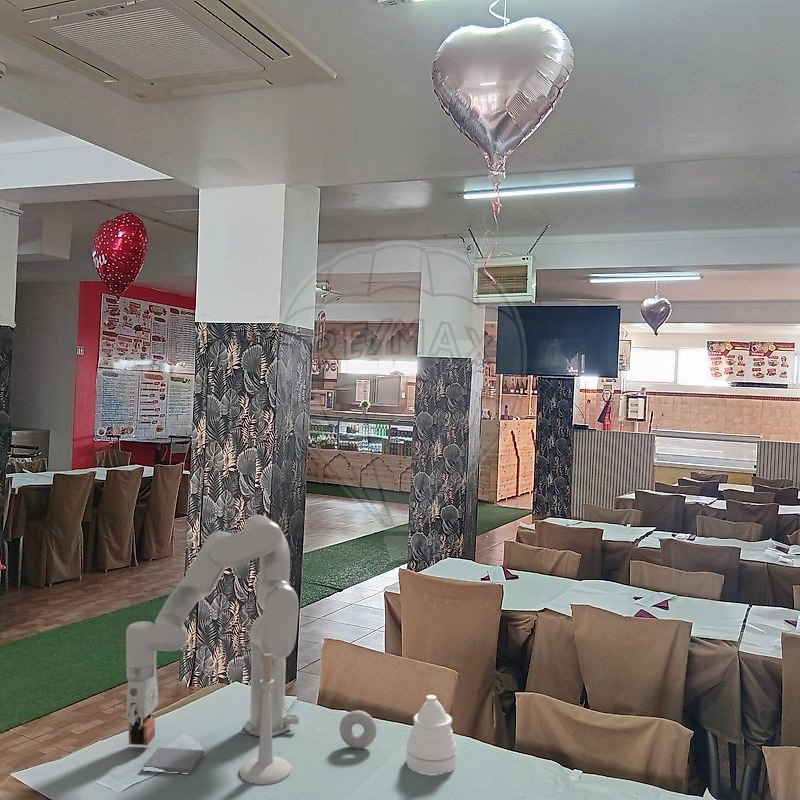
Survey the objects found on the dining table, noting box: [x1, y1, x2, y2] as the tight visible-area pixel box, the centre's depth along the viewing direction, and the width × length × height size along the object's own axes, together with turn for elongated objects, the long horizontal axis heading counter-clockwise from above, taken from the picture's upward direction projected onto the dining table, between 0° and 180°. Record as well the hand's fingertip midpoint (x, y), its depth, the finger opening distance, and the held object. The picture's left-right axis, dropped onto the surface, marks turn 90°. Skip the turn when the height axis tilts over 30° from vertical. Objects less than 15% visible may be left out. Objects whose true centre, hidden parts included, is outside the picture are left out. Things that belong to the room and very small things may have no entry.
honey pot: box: [405, 694, 457, 774], centre depth 204 cm, size 13×13×18 cm
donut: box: [339, 709, 377, 750], centre depth 212 cm, size 10×4×10 cm, turn 82°
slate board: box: [142, 747, 204, 775], centre depth 201 cm, size 12×10×2 cm
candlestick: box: [238, 652, 292, 786], centre depth 198 cm, size 13×13×30 cm
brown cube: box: [128, 717, 156, 746], centre depth 209 cm, size 5×5×5 cm
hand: (141, 737), depth 209 cm, fingers closed on brown cube, 5 cm apart
